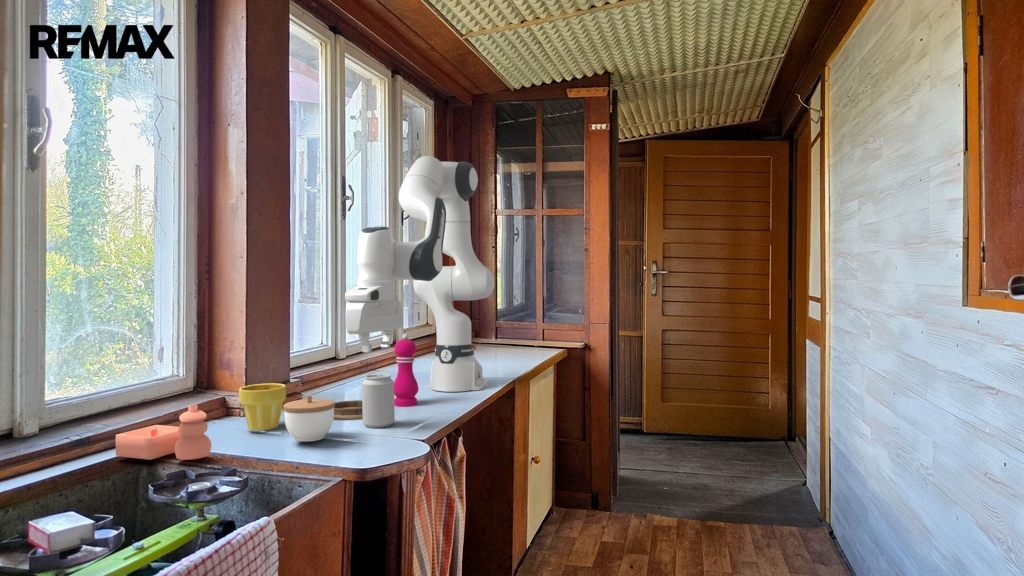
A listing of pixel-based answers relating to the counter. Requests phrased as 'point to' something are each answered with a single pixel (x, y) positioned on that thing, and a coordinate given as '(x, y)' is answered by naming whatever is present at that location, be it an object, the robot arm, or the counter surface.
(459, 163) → the robot arm
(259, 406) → the plant pot
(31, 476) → the counter surface
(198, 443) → the pottery
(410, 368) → the pepper mill
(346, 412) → the stand
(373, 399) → the can
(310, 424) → the lidded jar
